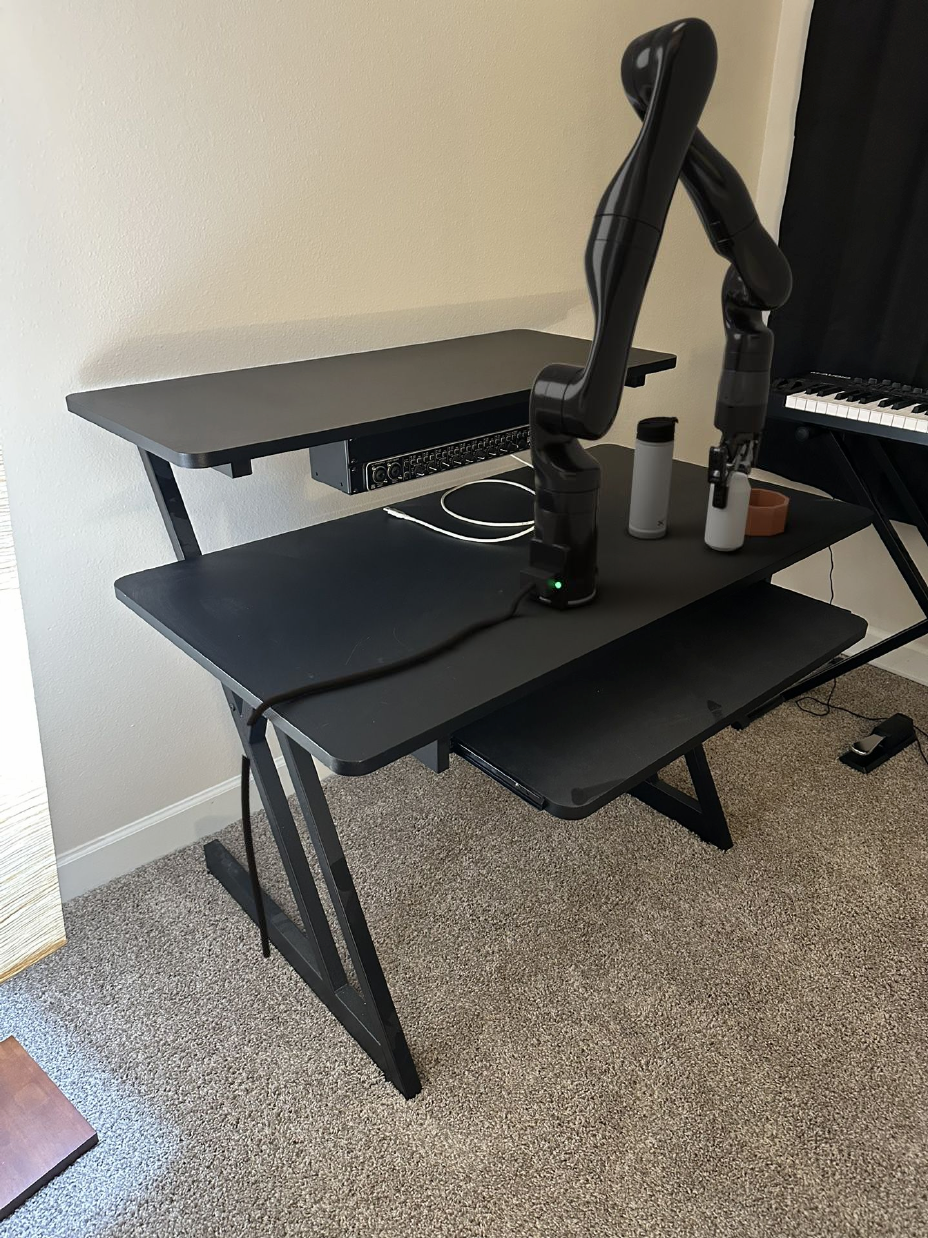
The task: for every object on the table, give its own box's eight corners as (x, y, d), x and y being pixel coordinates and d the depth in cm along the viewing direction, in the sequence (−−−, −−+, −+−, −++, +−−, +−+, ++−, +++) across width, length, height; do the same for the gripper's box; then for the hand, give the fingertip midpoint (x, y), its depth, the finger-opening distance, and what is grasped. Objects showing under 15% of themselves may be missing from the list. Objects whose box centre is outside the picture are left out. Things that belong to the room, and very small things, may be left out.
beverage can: (716, 536, 152) (725, 467, 146) (749, 545, 148) (759, 475, 142) (696, 546, 148) (704, 475, 142) (729, 556, 144) (739, 484, 138)
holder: (771, 540, 151) (775, 512, 149) (711, 526, 158) (714, 499, 155) (795, 523, 158) (799, 496, 156) (737, 510, 165) (740, 484, 162)
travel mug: (670, 539, 152) (682, 422, 143) (631, 539, 152) (640, 422, 143) (663, 526, 158) (674, 413, 149) (626, 526, 158) (634, 413, 149)
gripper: (739, 386, 144) (726, 486, 151) (697, 402, 134) (686, 509, 141) (784, 392, 139) (769, 495, 147) (745, 410, 130) (730, 519, 137)
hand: (728, 501), depth 144 cm, fingers closed on beverage can, 6 cm apart
